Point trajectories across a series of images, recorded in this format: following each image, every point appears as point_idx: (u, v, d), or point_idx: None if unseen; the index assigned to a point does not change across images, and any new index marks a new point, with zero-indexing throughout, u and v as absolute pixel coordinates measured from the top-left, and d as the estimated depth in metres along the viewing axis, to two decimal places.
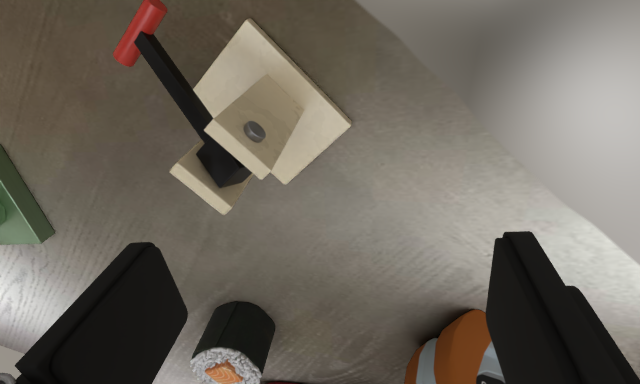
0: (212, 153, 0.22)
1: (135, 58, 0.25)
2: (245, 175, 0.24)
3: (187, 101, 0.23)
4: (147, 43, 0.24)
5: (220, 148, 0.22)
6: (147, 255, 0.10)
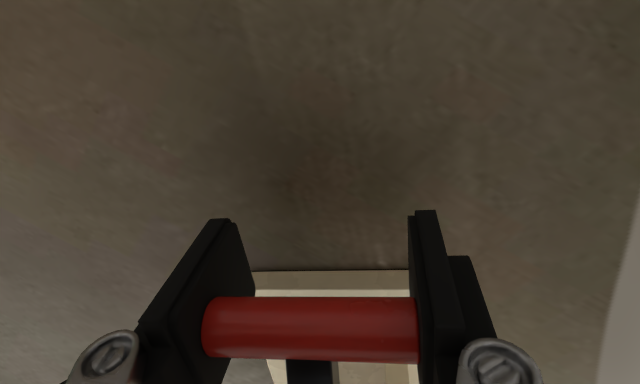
0: None
1: None
2: None
3: None
4: None
5: None
6: (229, 229, 0.10)
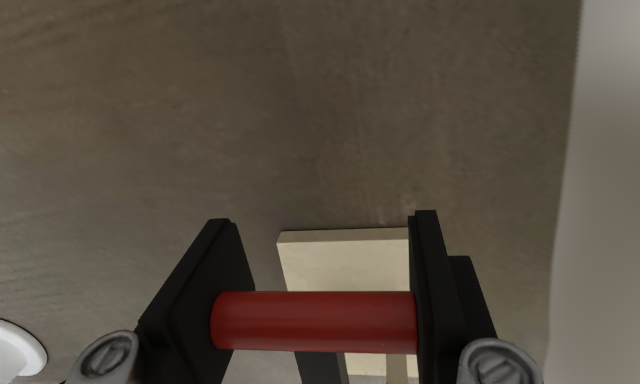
0: None
1: None
2: None
3: None
4: (334, 377, 0.09)
5: None
6: (228, 229, 0.10)
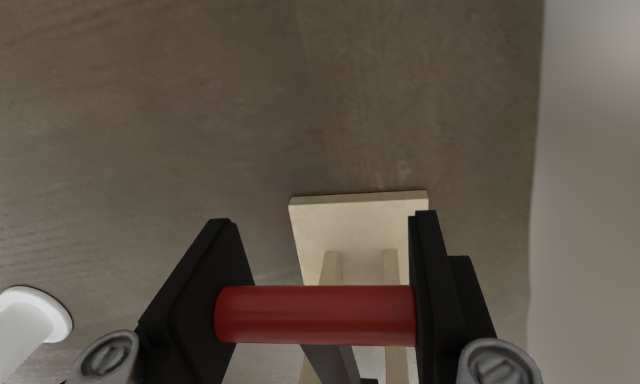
0: None
1: None
2: None
3: None
4: (336, 355, 0.10)
5: None
6: (228, 229, 0.10)
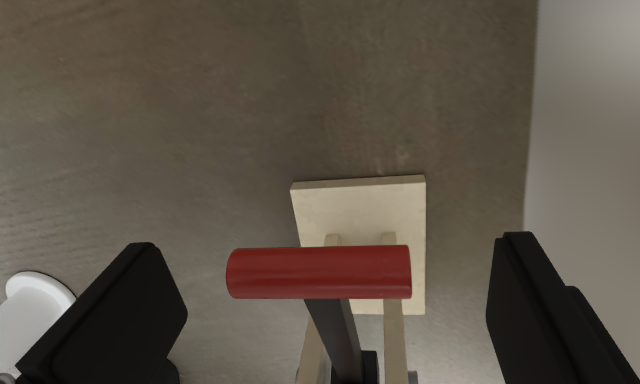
0: None
1: None
2: None
3: (352, 365, 0.14)
4: (338, 312, 0.11)
5: None
6: (147, 255, 0.10)
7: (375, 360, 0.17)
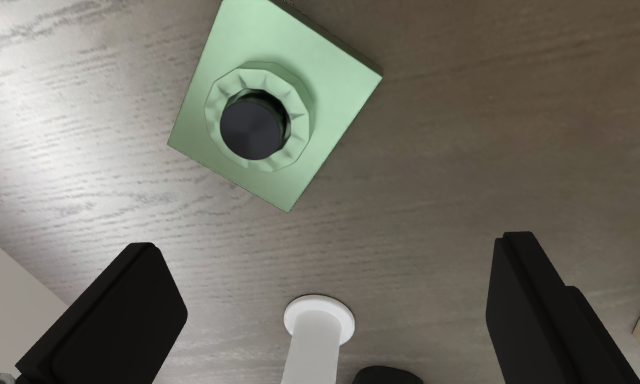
0: None
1: None
2: None
3: None
4: None
5: None
6: (147, 255, 0.10)
7: None
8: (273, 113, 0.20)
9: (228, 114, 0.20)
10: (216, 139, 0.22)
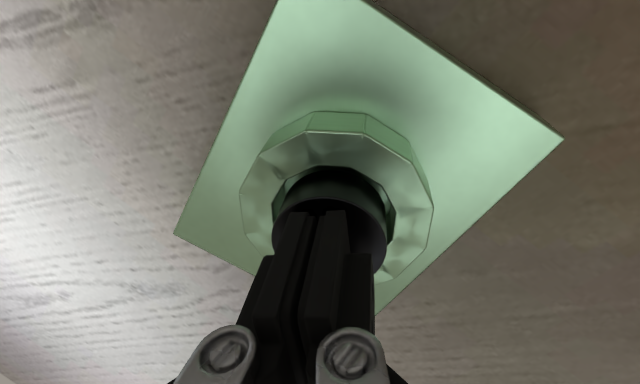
0: None
1: None
2: None
3: None
4: None
5: None
6: (312, 223, 0.10)
7: None
8: (376, 215, 0.10)
9: None
10: (258, 242, 0.13)
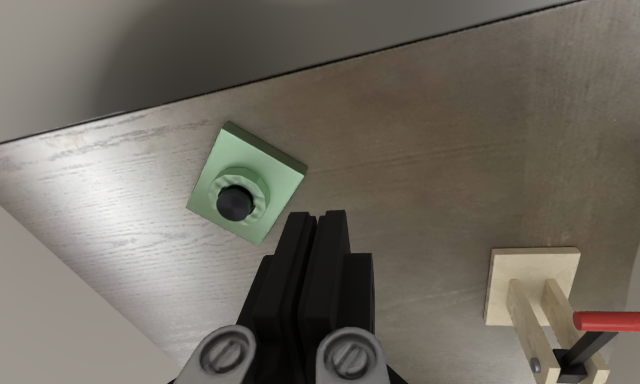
0: (572, 377, 0.34)
1: None
2: None
3: (588, 356, 0.32)
4: (613, 335, 0.28)
5: (580, 378, 0.34)
6: (312, 223, 0.10)
7: None
8: (244, 198, 0.37)
9: (220, 199, 0.38)
10: (214, 208, 0.40)
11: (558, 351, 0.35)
